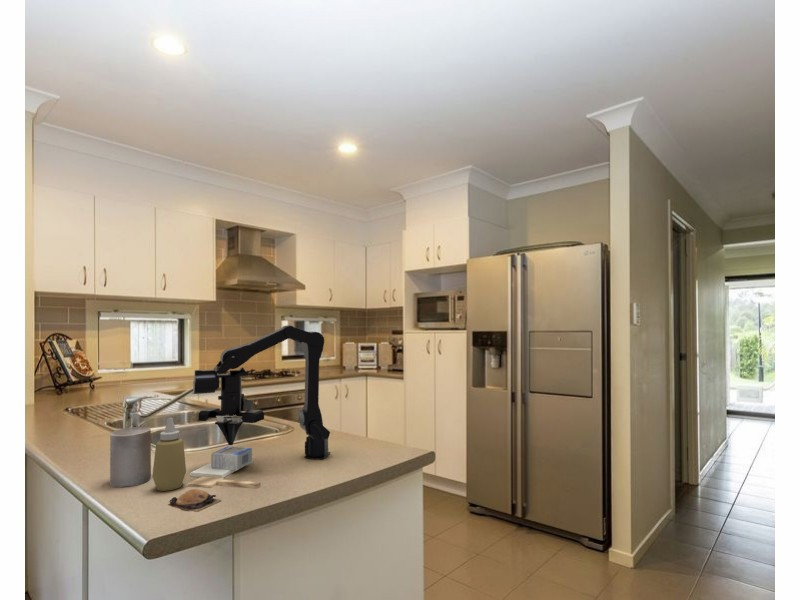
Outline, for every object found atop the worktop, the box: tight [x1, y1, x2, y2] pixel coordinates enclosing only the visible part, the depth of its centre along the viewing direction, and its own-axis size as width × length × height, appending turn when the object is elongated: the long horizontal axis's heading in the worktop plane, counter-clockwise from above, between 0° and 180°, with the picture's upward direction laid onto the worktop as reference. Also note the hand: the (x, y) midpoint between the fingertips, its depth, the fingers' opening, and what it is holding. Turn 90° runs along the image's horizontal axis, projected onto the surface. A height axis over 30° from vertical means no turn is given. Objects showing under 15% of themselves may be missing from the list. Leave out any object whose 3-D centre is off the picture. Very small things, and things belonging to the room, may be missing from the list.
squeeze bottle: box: [151, 417, 187, 492], centre depth 123 cm, size 8×8×18 cm
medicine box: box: [210, 445, 253, 471], centre depth 138 cm, size 8×4×9 cm
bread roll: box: [167, 488, 222, 513], centre depth 113 cm, size 11×8×4 cm
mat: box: [190, 457, 254, 478], centre depth 139 cm, size 10×16×1 cm, turn 167°
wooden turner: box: [187, 477, 261, 489], centre depth 125 cm, size 19×6×1 cm, turn 77°
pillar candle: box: [109, 425, 152, 488], centre depth 128 cm, size 10×10×15 cm
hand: (230, 444), depth 138 cm, fingers closed
